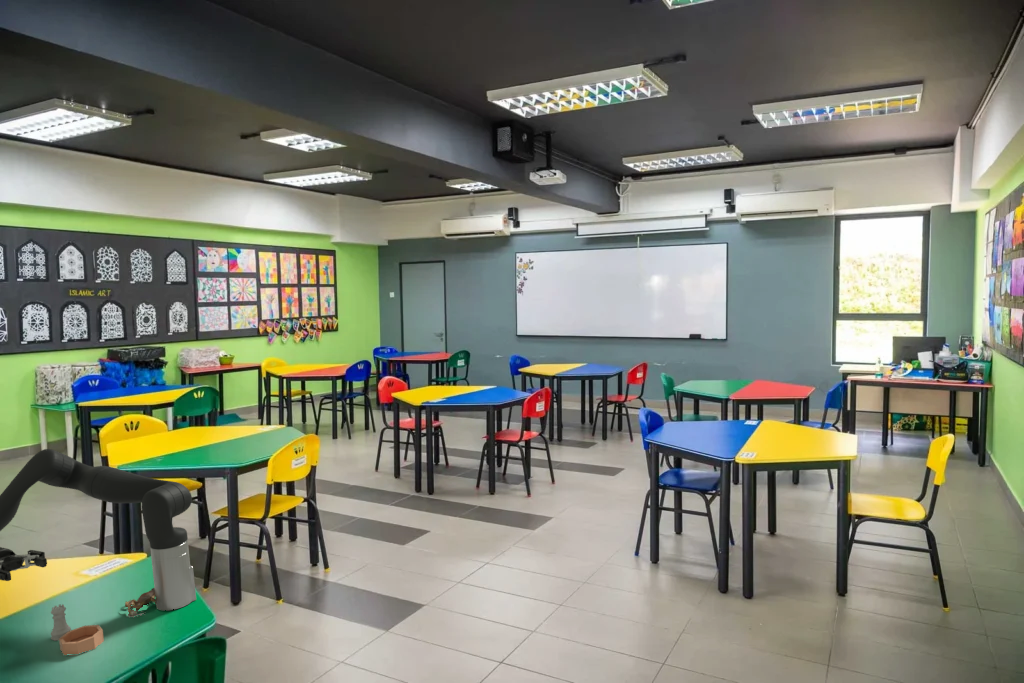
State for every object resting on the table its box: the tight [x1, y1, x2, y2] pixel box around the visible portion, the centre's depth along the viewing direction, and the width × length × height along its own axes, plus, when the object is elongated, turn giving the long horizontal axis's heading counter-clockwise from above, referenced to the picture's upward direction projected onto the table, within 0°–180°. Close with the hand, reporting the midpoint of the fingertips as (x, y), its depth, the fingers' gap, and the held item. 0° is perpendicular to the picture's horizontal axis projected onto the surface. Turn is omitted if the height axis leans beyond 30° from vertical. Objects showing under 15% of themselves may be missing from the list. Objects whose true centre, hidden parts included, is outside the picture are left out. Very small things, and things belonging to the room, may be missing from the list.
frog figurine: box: [124, 587, 156, 618], centre depth 184 cm, size 12×12×4 cm
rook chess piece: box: [50, 603, 72, 642], centre depth 169 cm, size 4×4×8 cm
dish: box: [58, 624, 105, 656], centre depth 165 cm, size 8×8×3 cm
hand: (27, 569), depth 173 cm, fingers open, 8 cm apart
